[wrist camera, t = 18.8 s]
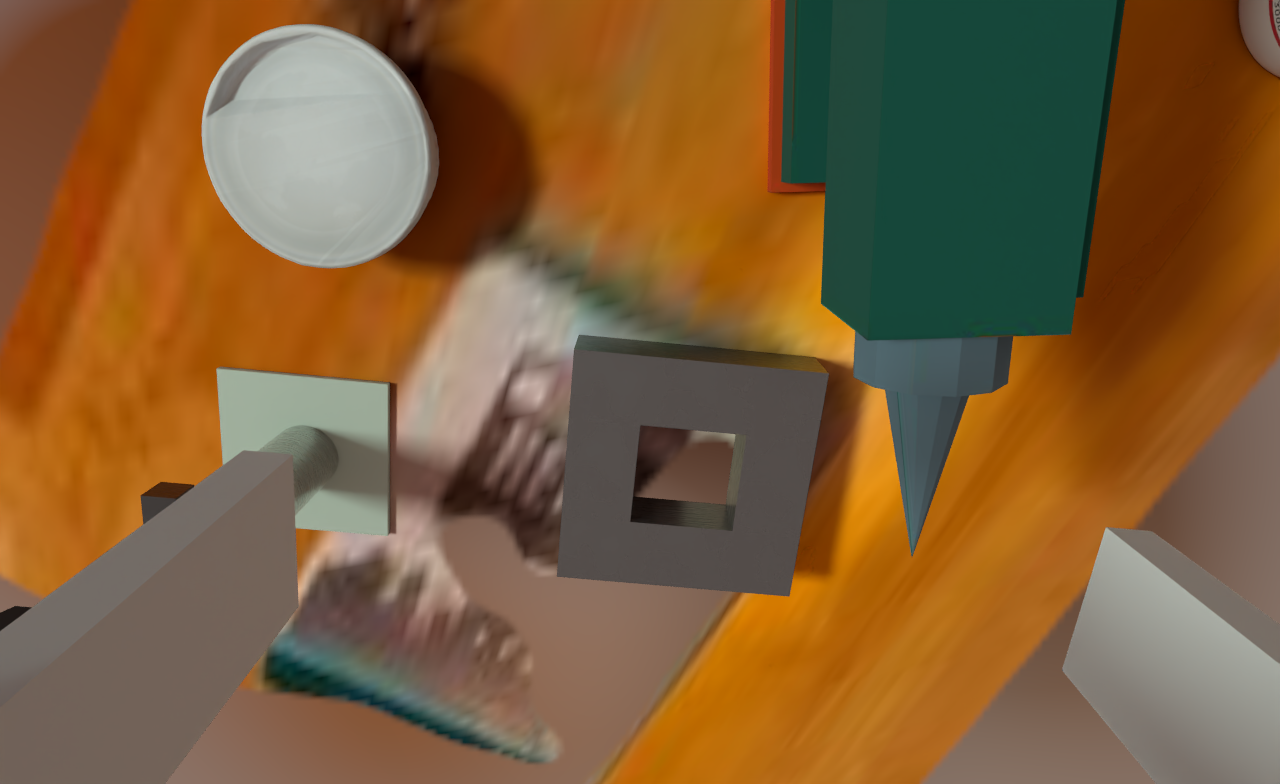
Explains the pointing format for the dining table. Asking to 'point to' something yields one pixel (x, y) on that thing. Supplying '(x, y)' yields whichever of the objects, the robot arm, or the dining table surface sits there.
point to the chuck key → (305, 443)
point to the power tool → (944, 187)
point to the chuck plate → (694, 400)
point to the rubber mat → (337, 409)
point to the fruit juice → (1262, 31)
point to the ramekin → (319, 146)
